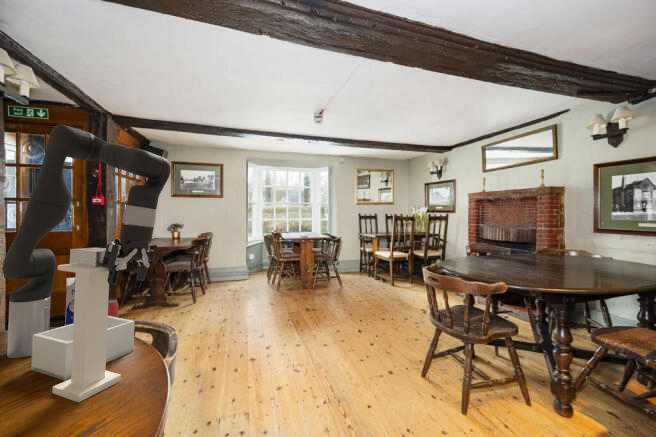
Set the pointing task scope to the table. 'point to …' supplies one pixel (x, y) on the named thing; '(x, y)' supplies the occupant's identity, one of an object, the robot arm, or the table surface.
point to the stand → (88, 335)
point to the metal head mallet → (87, 257)
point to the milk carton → (70, 301)
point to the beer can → (113, 308)
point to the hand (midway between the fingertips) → (127, 282)
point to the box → (57, 346)
